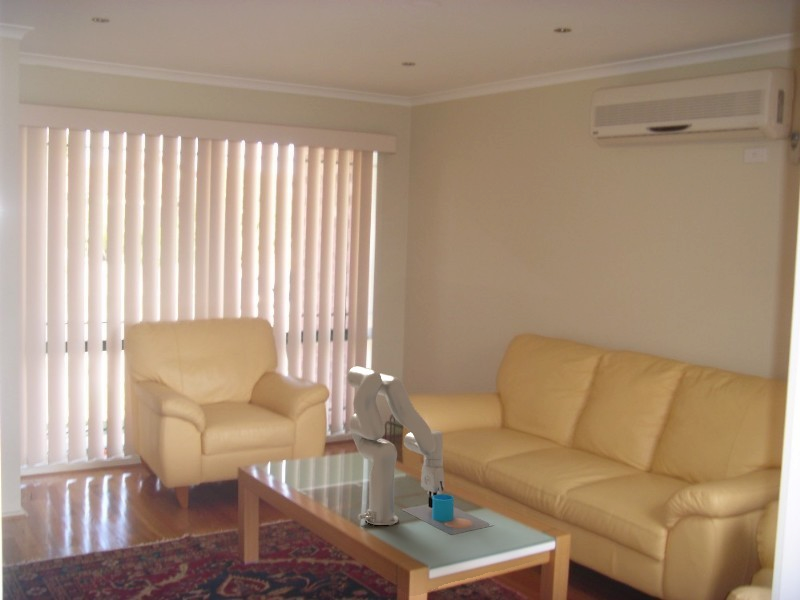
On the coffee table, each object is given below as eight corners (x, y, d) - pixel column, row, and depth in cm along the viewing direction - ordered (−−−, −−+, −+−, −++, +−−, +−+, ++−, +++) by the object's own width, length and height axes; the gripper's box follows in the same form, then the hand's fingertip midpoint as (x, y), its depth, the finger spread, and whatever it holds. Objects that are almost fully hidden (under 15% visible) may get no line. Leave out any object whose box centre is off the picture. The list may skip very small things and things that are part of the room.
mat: (451, 534, 314) (451, 534, 314) (400, 509, 343) (400, 509, 343) (493, 525, 325) (493, 525, 325) (441, 501, 354) (441, 501, 354)
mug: (455, 520, 330) (456, 499, 329) (435, 522, 328) (435, 501, 327) (447, 510, 341) (447, 490, 341) (427, 512, 340) (428, 491, 339)
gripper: (414, 458, 345) (414, 503, 346) (436, 467, 332) (436, 513, 334) (429, 456, 349) (429, 500, 350) (452, 464, 336) (451, 510, 338)
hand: (432, 506), depth 342 cm, fingers closed
